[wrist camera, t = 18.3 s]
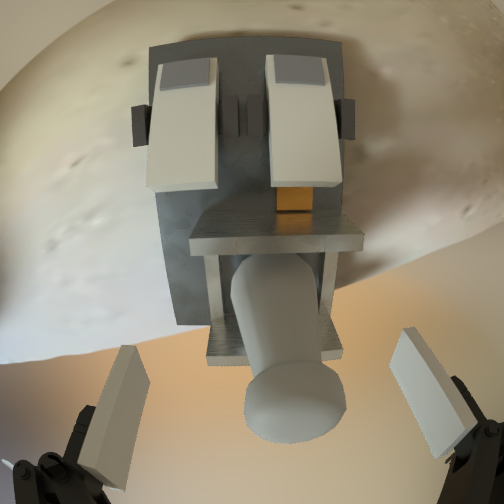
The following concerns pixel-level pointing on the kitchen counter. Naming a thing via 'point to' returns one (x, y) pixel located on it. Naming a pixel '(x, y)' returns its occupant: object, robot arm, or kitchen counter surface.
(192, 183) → the rocker
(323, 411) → the salt shaker
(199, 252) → the grey mechanical fixture
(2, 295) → the kitchen counter surface
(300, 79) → the rocker
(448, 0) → the kitchen counter surface
